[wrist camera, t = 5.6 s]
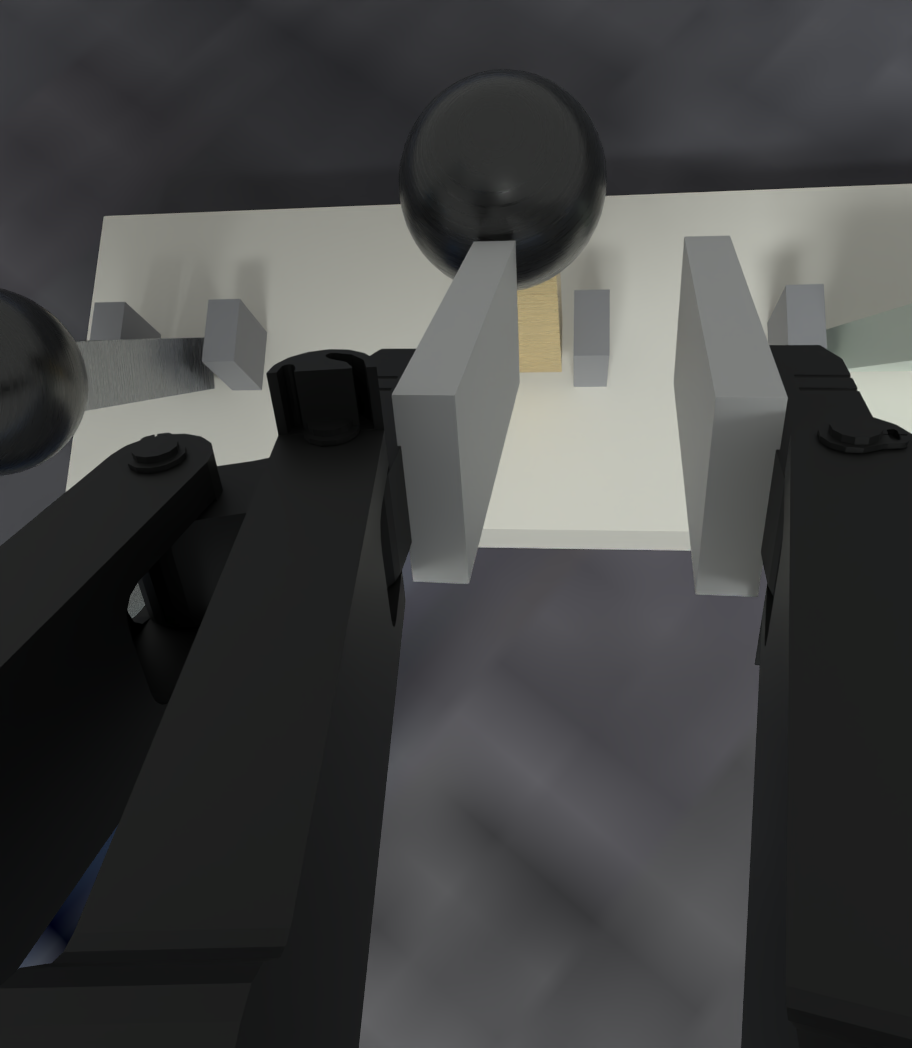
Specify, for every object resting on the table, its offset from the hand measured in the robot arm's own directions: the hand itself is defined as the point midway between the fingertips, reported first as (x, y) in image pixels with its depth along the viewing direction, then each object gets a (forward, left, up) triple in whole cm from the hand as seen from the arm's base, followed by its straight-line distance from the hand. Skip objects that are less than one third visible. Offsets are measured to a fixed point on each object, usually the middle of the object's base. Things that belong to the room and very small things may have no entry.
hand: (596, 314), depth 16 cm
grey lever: (-13, -4, -11) cm, 17 cm away
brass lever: (-4, +2, -10) cm, 11 cm away
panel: (-4, +2, -14) cm, 14 cm away
